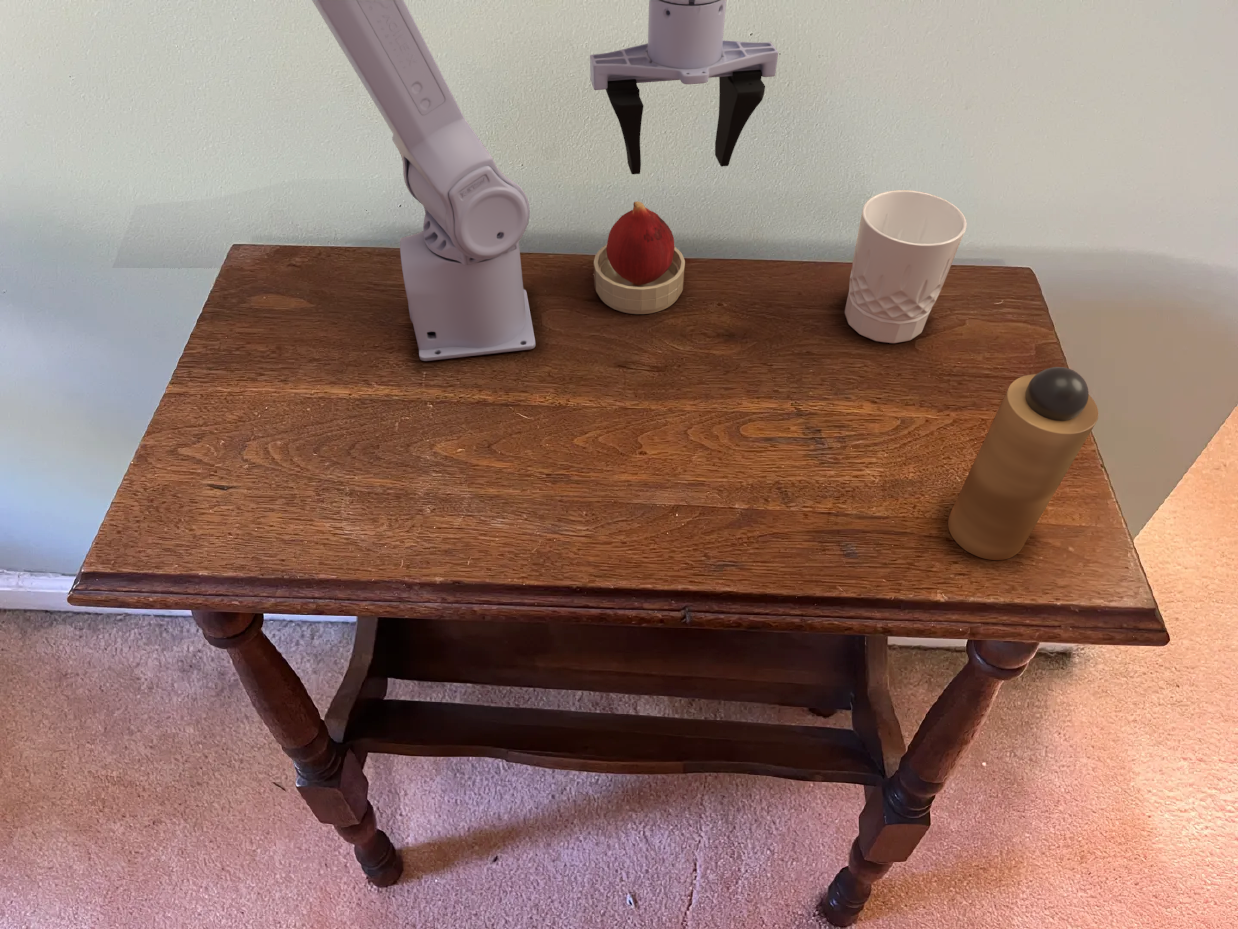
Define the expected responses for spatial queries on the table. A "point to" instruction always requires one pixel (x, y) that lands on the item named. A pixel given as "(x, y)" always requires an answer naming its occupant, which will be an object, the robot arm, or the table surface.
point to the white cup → (901, 263)
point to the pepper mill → (1022, 462)
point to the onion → (640, 245)
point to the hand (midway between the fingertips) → (678, 164)
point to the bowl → (636, 297)
